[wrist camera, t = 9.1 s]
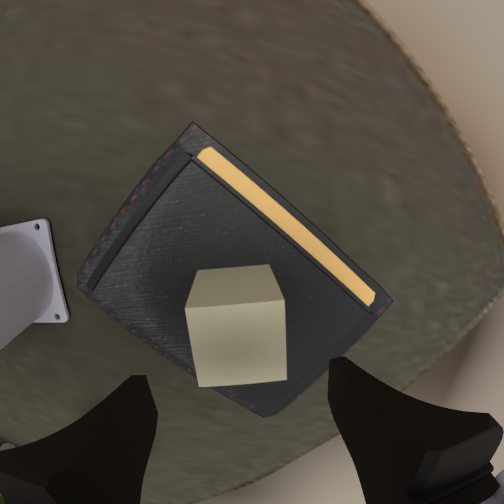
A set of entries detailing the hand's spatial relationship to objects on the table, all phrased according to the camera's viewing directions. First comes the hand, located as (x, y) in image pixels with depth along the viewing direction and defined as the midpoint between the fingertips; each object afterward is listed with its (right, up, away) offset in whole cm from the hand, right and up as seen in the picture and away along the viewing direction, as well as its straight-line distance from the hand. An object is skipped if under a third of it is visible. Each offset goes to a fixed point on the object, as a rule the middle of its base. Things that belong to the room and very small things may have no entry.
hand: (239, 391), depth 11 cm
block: (-1, +2, +9) cm, 9 cm away
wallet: (-1, +2, +11) cm, 11 cm away
